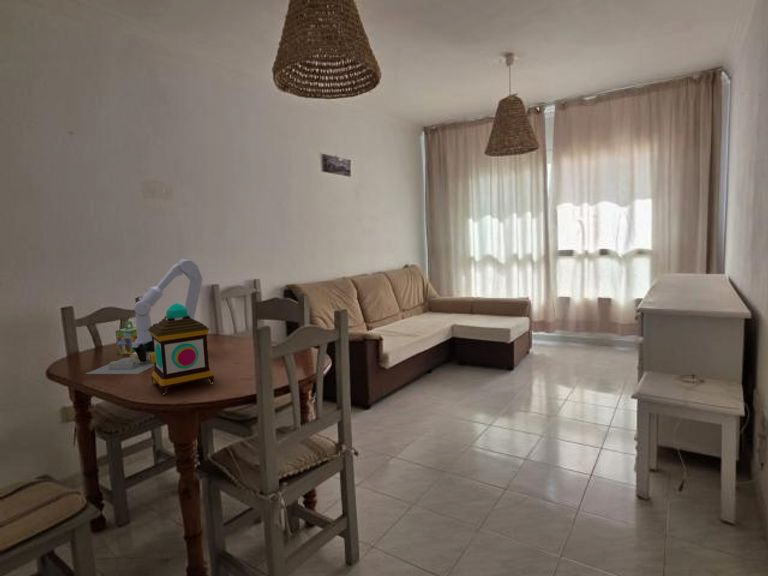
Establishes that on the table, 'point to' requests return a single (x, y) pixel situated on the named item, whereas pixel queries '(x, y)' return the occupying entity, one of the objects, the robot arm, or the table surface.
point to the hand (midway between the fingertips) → (146, 359)
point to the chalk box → (126, 339)
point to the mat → (137, 370)
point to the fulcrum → (123, 365)
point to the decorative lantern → (179, 349)
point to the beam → (135, 357)
